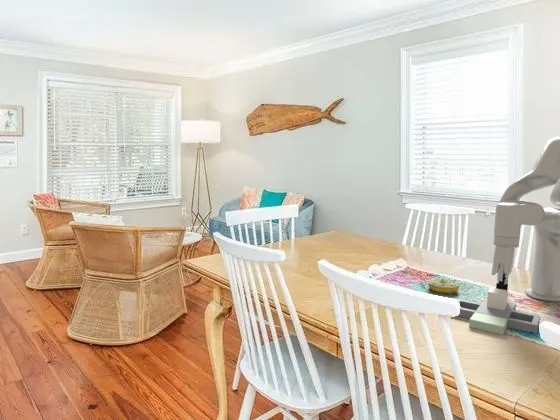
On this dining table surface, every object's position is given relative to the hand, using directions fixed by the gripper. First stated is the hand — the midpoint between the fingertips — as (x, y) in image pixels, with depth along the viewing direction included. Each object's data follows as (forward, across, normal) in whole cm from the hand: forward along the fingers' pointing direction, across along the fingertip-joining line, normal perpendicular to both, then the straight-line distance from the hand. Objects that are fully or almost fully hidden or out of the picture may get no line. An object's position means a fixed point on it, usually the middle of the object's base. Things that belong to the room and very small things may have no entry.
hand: (501, 294), depth 143 cm
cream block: (+2, +8, 0) cm, 8 cm away
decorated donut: (+5, -6, -20) cm, 21 cm away
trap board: (+4, +12, 0) cm, 12 cm away
